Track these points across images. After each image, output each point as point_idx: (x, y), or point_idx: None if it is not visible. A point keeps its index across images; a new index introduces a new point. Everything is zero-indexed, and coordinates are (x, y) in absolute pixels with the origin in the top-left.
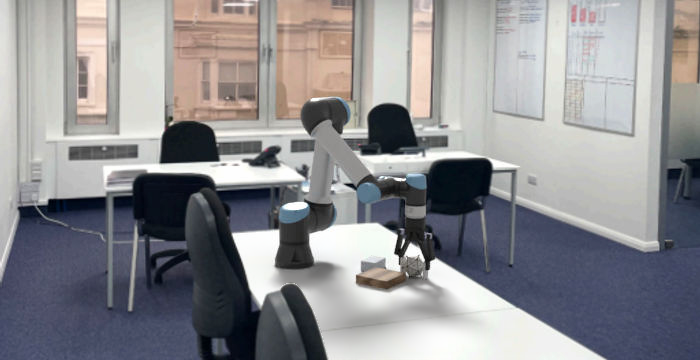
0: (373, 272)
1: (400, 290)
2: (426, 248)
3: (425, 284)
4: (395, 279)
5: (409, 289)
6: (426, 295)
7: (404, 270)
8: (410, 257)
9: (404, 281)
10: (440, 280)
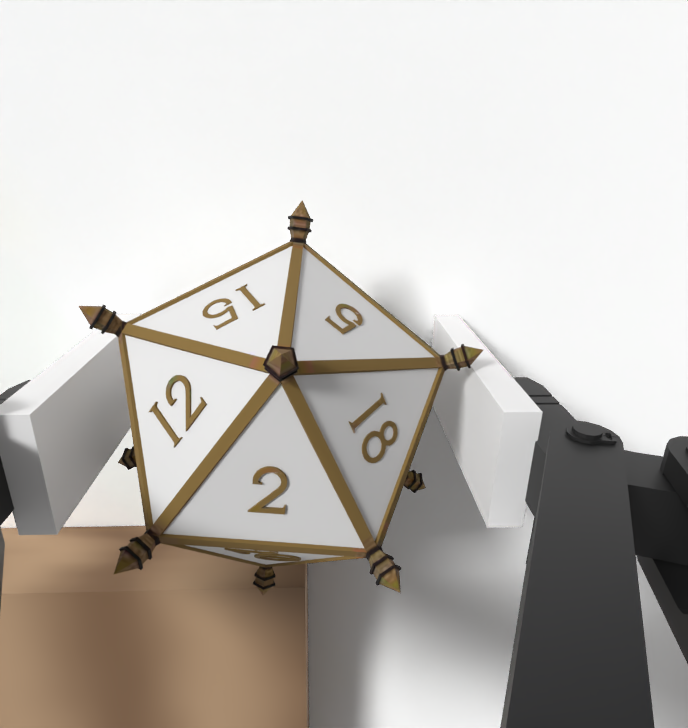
0: None
1: (408, 720)
2: (635, 626)
3: None
4: (307, 719)
5: (457, 672)
6: None
7: None
8: (202, 518)
9: None
10: (614, 297)
